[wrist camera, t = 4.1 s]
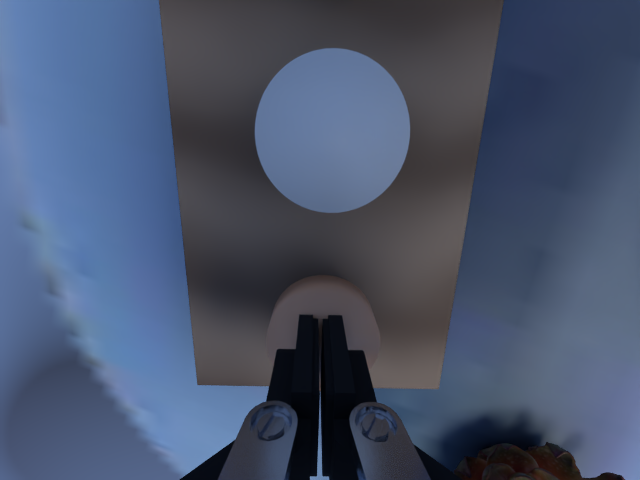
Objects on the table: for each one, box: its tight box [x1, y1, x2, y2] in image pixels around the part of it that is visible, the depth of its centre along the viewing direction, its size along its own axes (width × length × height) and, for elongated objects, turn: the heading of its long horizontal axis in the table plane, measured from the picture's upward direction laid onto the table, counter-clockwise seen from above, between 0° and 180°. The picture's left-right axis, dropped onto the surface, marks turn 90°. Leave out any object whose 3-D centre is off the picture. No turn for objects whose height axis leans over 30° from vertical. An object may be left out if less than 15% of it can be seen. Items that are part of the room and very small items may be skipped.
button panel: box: [159, 0, 504, 389], centre depth 13 cm, size 25×13×2 cm, turn 178°
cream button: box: [255, 48, 410, 213], centre depth 10 cm, size 4×4×3 cm
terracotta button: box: [266, 275, 380, 391], centre depth 13 cm, size 4×4×3 cm
